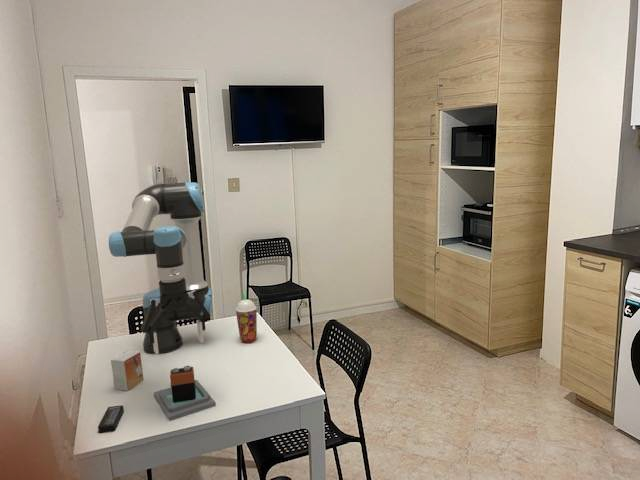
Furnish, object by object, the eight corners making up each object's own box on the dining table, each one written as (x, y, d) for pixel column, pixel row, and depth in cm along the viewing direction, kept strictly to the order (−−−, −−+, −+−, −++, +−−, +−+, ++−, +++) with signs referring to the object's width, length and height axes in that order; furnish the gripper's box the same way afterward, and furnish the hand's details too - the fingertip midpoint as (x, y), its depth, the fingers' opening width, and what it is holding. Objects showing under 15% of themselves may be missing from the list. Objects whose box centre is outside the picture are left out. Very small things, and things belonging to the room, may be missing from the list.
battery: (195, 399, 147) (192, 369, 145) (172, 403, 145) (169, 372, 143) (195, 392, 151) (192, 363, 149) (173, 396, 149) (170, 366, 148)
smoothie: (241, 336, 199) (238, 290, 195) (261, 336, 198) (257, 289, 194) (235, 344, 191) (231, 296, 187) (255, 344, 190) (252, 296, 186)
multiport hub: (98, 434, 134) (97, 427, 133) (109, 413, 144) (108, 406, 144) (115, 432, 134) (114, 425, 134) (124, 411, 145) (123, 404, 144)
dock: (154, 395, 153) (153, 388, 153) (196, 382, 160) (196, 376, 160) (169, 420, 138) (168, 413, 138) (215, 405, 145) (215, 398, 145)
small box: (127, 391, 157) (123, 361, 155) (114, 389, 159) (110, 359, 157) (144, 380, 164) (140, 351, 162) (131, 378, 166) (127, 349, 164)
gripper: (130, 290, 131) (139, 362, 135) (217, 274, 144) (222, 340, 148) (124, 284, 138) (133, 353, 142) (208, 269, 151) (214, 333, 155)
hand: (179, 346), depth 145 cm, fingers open, 13 cm apart
